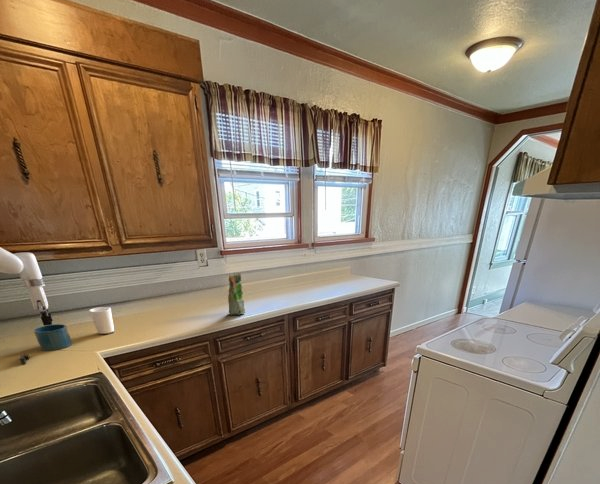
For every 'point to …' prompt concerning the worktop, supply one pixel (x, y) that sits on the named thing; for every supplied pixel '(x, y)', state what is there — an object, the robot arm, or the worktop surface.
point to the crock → (53, 337)
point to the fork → (24, 358)
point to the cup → (102, 320)
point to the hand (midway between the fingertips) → (48, 322)
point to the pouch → (235, 295)
